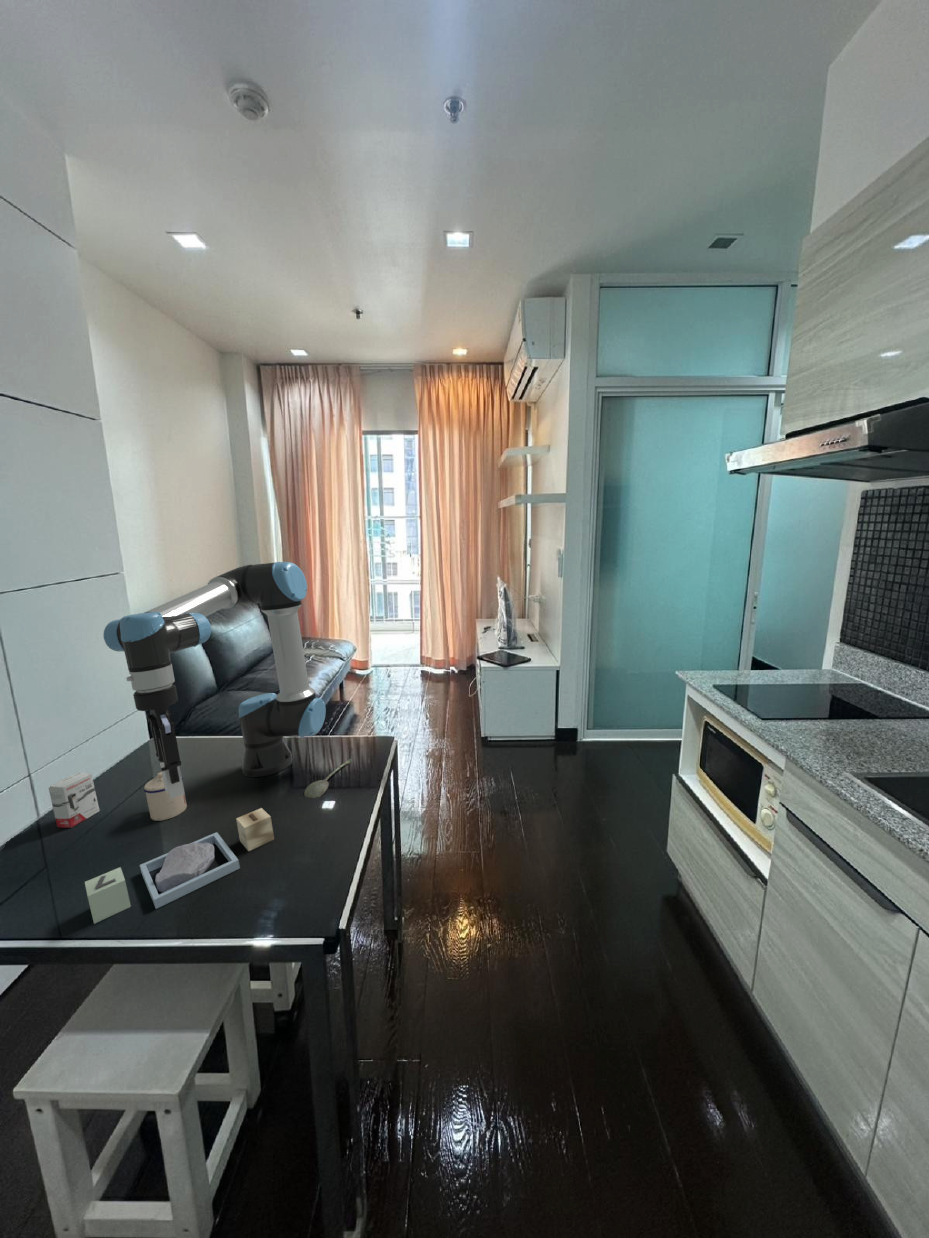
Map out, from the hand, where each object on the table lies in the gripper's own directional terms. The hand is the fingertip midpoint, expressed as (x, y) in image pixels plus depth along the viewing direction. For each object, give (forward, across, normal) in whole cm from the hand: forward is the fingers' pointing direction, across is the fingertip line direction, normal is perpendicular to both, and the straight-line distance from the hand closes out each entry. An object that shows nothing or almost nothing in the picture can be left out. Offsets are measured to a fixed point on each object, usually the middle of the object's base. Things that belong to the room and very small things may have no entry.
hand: (174, 792), depth 105 cm
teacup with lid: (+19, -35, +2) cm, 40 cm away
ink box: (+19, -51, -16) cm, 57 cm away
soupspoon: (+19, -14, +41) cm, 48 cm away
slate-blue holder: (+19, 0, 0) cm, 19 cm away
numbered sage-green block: (+19, 0, -14) cm, 24 cm away
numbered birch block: (+19, 0, +14) cm, 24 cm away
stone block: (+19, 0, 0) cm, 19 cm away
